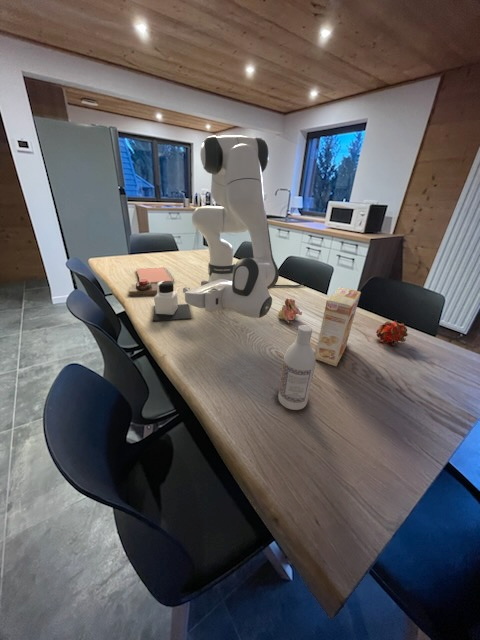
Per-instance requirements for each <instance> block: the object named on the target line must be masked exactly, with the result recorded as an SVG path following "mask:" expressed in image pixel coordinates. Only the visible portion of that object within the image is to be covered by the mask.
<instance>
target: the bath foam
mask: <svg viewBox="0 0 480 640" xmlns="http://www.w3.org/2000/svg"><path fill="white" fill-rule="evenodd" d="M312 334H313V328H312V327H311V326H309V325H305V324H302V325H298V327H297V332H296V339H295V341H294V342H293V343H292V344H291V345H290V346H289V347H288V348H287V350H286V351H285V354H284V356H283V362H282V367H281V374H280V381H279V387H278V395H277V398H278V402H279V403H280V404H281V405H282V406H283V407H285V408H286V409H289V410H292V411H299V410H302V409H304V408H305V407H306V406H307V404H308V400H309V396H310V391H311V386H312V381H313V377H314V373H315V369H316V368H315V367H316V359H315V352H314V349H313V347H312V345H311V339H312Z"/></svg>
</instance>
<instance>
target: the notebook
mask: <svg viewBox="0 0 480 640" xmlns="http://www.w3.org/2000/svg"><path fill="white" fill-rule="evenodd" d="M136 274H137V278H138V281H139V280H141V279H147V280H148V282H151V284H158V283H159V282H161V281H170V282H172V283H173V284H174V281H175V280H174V278H173V276H172V275H171V273H170V272H169V271H168V269H167V268H166V267H164V266H162V267H160V266H159V267H144V268H143V267H141V268H136Z"/></svg>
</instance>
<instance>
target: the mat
mask: <svg viewBox="0 0 480 640" xmlns="http://www.w3.org/2000/svg"><path fill="white" fill-rule="evenodd" d="M191 319H192V317H191V310H190V306H189V304H187V303H186V304H183V303H182V304H178V309H177V310H176V312H175V313H174V315H167V314H156V311H155V305H154V306H153V316H152V321H153V322H166V321H167V322H169V321H180V320H181V321H183V320H191Z"/></svg>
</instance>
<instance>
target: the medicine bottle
mask: <svg viewBox="0 0 480 640" xmlns="http://www.w3.org/2000/svg"><path fill="white" fill-rule="evenodd" d="M157 290H158V294H157V295H154V297H153V300H154V306H155V311H156V314H167V315H174V313H175V312H176V310H177V309H178V305H179V299H178V291H175V289H174V282H173V283H172V282H170V281H161V282H159V283H158V284H157Z"/></svg>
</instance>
